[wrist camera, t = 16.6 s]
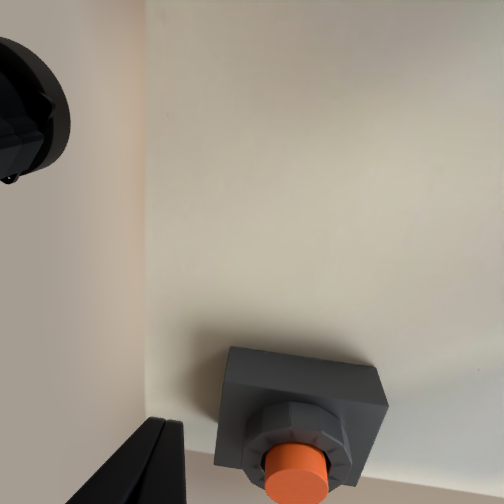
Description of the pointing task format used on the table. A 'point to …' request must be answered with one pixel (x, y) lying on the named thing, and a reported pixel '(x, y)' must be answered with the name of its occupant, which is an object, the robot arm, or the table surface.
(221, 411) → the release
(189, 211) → the table surface
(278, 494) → the release button
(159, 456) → the robot arm
